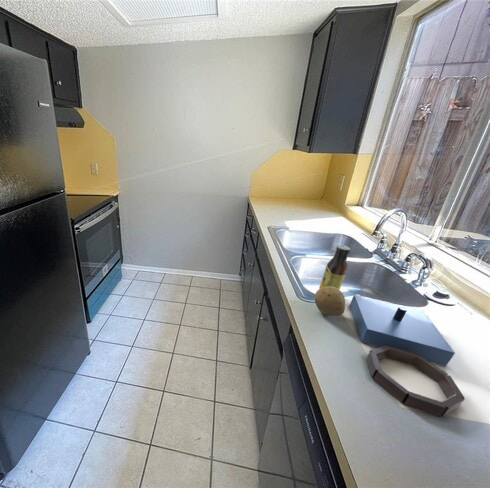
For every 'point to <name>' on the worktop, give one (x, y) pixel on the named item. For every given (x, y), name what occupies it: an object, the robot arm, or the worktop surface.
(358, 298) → the ring stand
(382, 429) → the worktop surface
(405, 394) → the walnut ring
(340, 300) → the brown potato
